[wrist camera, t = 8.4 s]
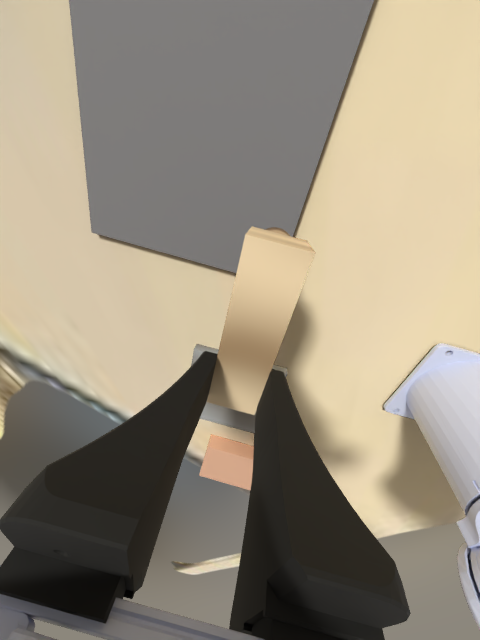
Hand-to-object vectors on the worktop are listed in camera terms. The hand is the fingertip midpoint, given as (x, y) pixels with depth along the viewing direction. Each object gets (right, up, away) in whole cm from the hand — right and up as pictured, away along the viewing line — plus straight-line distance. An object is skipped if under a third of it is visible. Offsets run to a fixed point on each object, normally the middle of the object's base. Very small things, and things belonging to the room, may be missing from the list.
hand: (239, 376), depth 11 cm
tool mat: (-2, +15, +2) cm, 15 cm away
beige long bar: (0, +2, +4) cm, 4 cm away
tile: (0, -12, +18) cm, 22 cm away
